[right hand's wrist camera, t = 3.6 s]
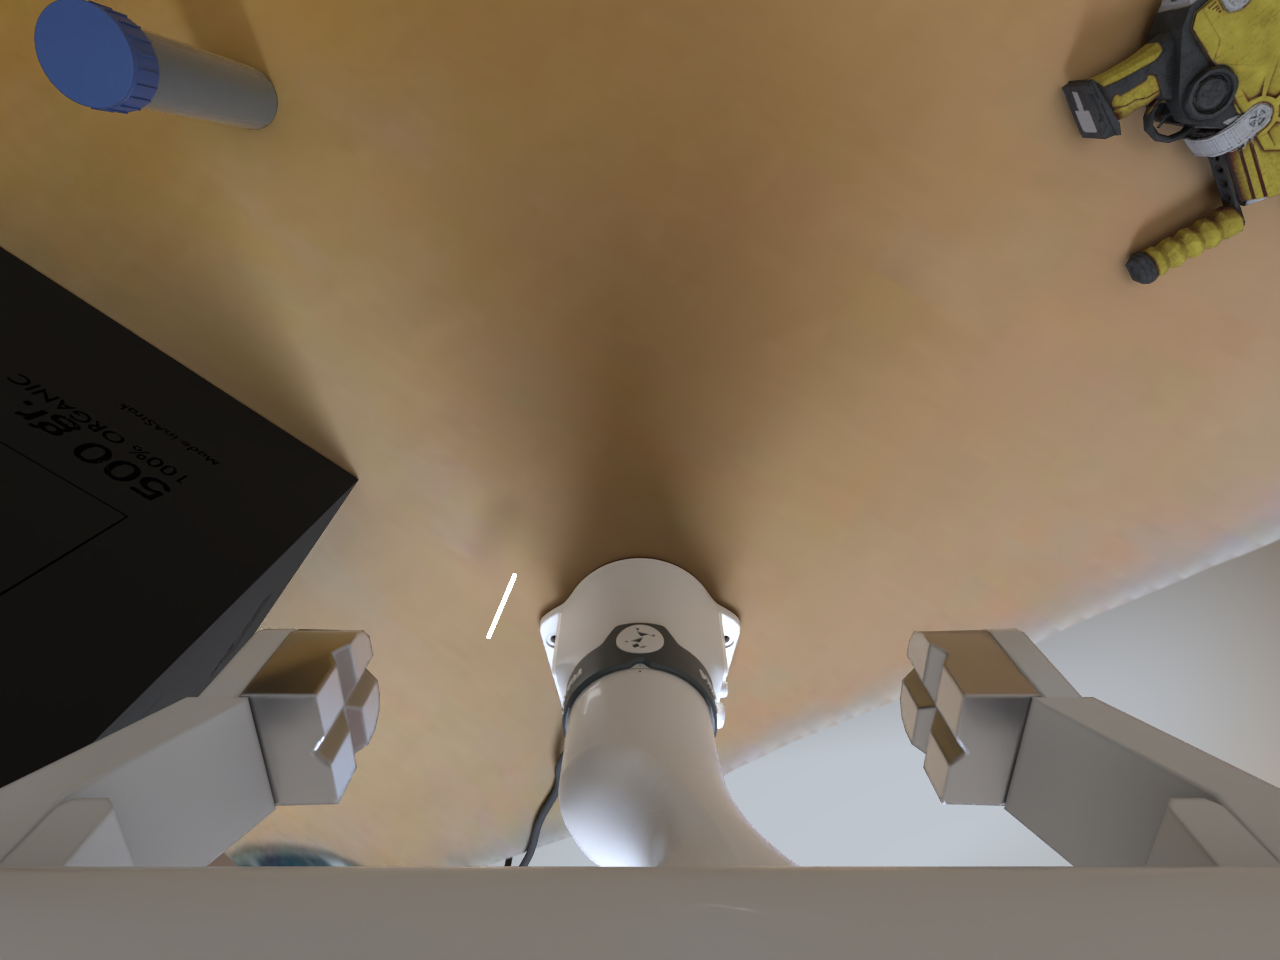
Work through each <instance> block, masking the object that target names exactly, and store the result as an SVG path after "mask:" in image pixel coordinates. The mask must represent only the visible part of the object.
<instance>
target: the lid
mask: <svg viewBox="0 0 1280 960" xmlns="http://www.w3.org/2000/svg"><path fill="white" fill-rule="evenodd" d="M35 48H36V53H37V56H38V59H39V62H40V64H41V67H42V69H43V70H44V72H45V74H46V76H47V77H48V78H49V80H50V81H51V82H52V84H53V85H54V86H55V87H56V88H57V89H58V90H59V91H60V92H61V93H63V94H64V95H65V96H66V97H68V98H69V99H71V100H73V101H75V102H77V103H79V104H81V105H84V106H88V107H91V109H96V110H102V111H108V112H118V113H124V114H128V112H133V111H137V110H138V111H140V110H141V108H143V107H144V106H146V105H147V104H148V103H151V100H152V98H153V97H154V95H155V93H156V91H157V90H158V89H157V88H158V84H159V76H160V74H159V64H158V58H157V56H156V53H155V51H154V48H153V46H152V45H151V41H149V39H148V38H147V36H146V35H145V34H144V32H143V31H142V30H141V27H140V26H137V25H136V24H135V23H134V22H133V21H131V20H130V19H129V18H127V15H124V14H122V13H119V12H116V11H113V10H112V8H109V7H106V6H103V5H101V4H98V3H95V2H92V1H89V2H87V1H84V0H57V1H55V2H53V3H51V4H50V5H48V6H47V7H46V8H45V9H44V10H43V12H42V13H41V14H40V16H39V18H38V20H37V24H36V27H35Z"/></svg>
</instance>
